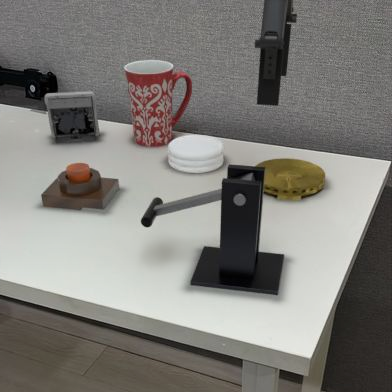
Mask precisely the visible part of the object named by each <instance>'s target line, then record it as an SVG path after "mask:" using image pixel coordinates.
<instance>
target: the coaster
mask: <svg viewBox="0 0 392 392" xmlns="http://www.w3.org/2000/svg"><path fill="white" fill-rule="evenodd" d="M167 150H168V151H167V156H168V158H167V162H168V164H169V166H170V167H171V168H173V169H175V170H176V171H178V172H183V173H188V174H202V173H210V172H213V171H215V170H218V169H219V168H221V167H222V166H223V164H224V161H225V158H224V156H225V153H224V150H225V145H224V143H223V142H222V141H221V140H220V139H219V138H217V137H214V136H211V135H204V134H188V135H182V136H178V137H175V138H174V139H172V140H171V142H169V143H168V144H167Z"/></svg>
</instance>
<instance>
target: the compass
mask: <svg viewBox="0 0 392 392" xmlns="http://www.w3.org/2000/svg"><path fill="white" fill-rule="evenodd" d="M255 166H257V167H265V180H264V192H265V193H267V194H270V195H275V196H277V200H284V201H299V200H301V199H302V197H304V196H310V195H312V194H316V193H318V192H319V191H321V190H324V188H325V181H326V172H325V170H324V169H323V168H322V167H320V166H319V165H318V164H315V163H313V162H311V161H307V160H303V159H299V158H298V159H297V158H286V157H285V158H272V159H267V160H264V161H261V162H258V163H257V164H255Z"/></svg>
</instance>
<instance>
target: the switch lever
mask: <svg viewBox="0 0 392 392" xmlns="http://www.w3.org/2000/svg"><path fill="white" fill-rule="evenodd" d="M231 179H240V180H252V181H255V178H254V174H253V173H250V174H246V175H242V176H239V177H235V178H231ZM221 189H222V188H219V189H216V190H211V191H208V192H203V193H200V194H196V195H195V194H194V195H192V196H187V197H184V198H180V199H175V200H172V201H169V202H164V200H163V199H162V198H161V197H158V196H157V197H156V196H155V197H154V198H152V200H151V202H150V203H149V205H148V207H147V208H146V211H145V212H144V214H143V215H142V217H141V218H140V225H141V226H142V227H144V228H151V227H152V225H153V224H154V222H155V220H156V219H157V217H159V216H164V215H167V214H172V213H175V212H180V211H183V210H187V209H192V208H196V207H199V206H203V205H208V204H211V203H215V202H221Z"/></svg>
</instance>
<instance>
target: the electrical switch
mask: <svg viewBox="0 0 392 392" xmlns="http://www.w3.org/2000/svg"><path fill="white" fill-rule="evenodd" d="M44 104H45V105H46V112H47V117H48V122H49V128H50V134H51V137H52V138H53V139H55V143H73V142H82V141H84V142H85V141H97V137H98V136H99V135H100V127H99V120H98V119H99V117H98V111H97V110H98V109H97V100H96V94H95V92H93V91H92V90H88V91H70V92H69V91H68V92H48V93H45V95H44Z"/></svg>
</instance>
